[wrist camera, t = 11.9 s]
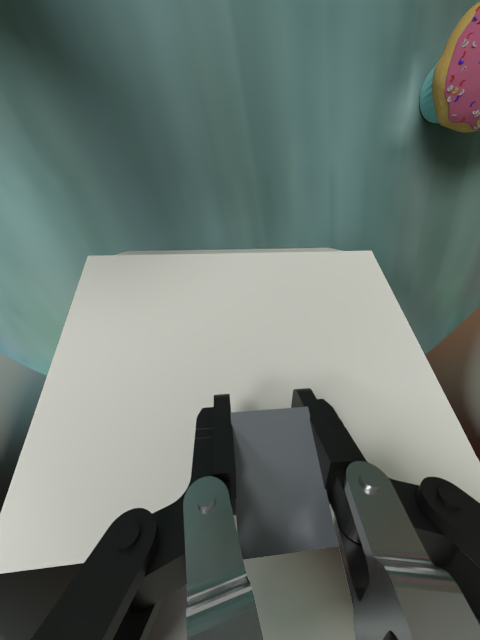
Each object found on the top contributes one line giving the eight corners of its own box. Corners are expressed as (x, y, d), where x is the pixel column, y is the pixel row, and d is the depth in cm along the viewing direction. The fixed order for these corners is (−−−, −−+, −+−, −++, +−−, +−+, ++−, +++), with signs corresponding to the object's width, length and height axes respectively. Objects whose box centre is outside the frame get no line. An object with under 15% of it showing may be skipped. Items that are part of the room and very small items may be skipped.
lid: (104, 279, 21) (46, 196, 14) (355, 273, 23) (409, 197, 17) (31, 550, 12) (-224, 676, 5) (452, 498, 14) (664, 541, 7)
